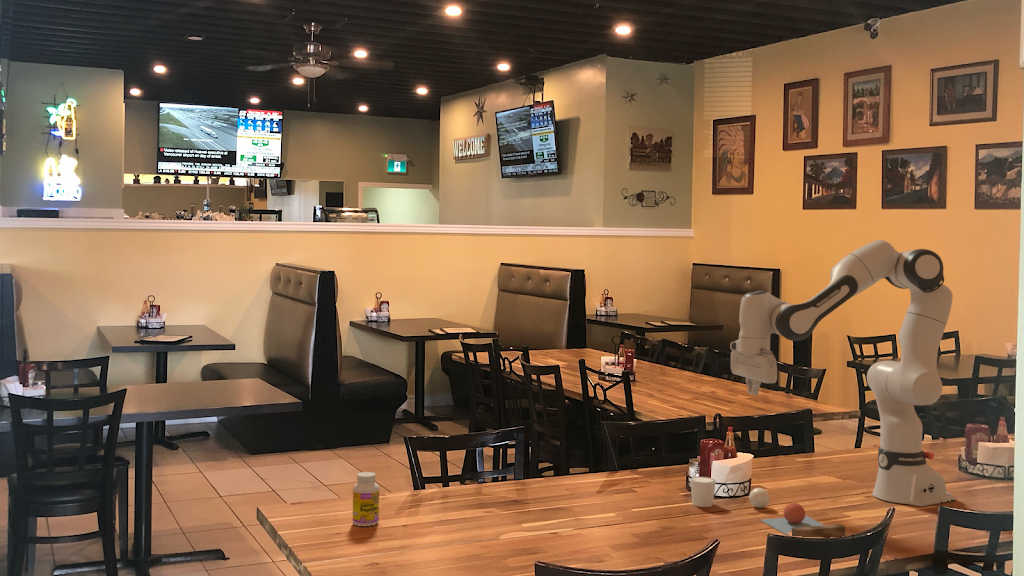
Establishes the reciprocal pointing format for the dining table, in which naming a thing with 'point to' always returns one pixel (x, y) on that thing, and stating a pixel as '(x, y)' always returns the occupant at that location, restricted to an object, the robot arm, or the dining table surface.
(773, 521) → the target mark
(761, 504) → the cue ball
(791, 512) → the red ball
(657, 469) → the dining table surface
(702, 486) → the white cup
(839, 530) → the strip
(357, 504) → the supplement bottle
